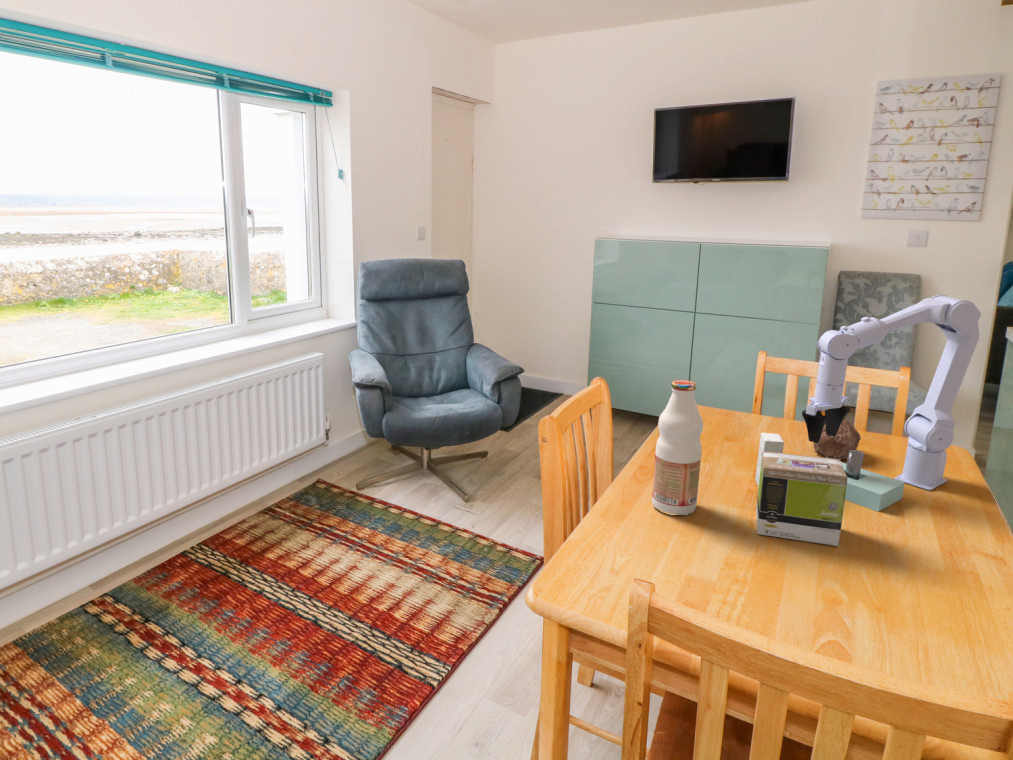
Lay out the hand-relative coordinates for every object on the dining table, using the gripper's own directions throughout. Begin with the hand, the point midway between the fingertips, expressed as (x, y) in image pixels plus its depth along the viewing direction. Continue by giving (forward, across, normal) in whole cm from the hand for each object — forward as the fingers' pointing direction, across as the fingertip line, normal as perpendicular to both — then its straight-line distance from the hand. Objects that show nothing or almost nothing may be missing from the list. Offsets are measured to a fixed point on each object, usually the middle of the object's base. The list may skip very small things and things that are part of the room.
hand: (822, 438), depth 155 cm
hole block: (+10, 0, +8) cm, 13 cm away
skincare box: (+11, +13, -5) cm, 18 cm away
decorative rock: (+11, -19, -6) cm, 23 cm away
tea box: (+11, +28, +11) cm, 32 cm away
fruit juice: (+11, +40, -10) cm, 43 cm away
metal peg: (+10, 0, +8) cm, 13 cm away
